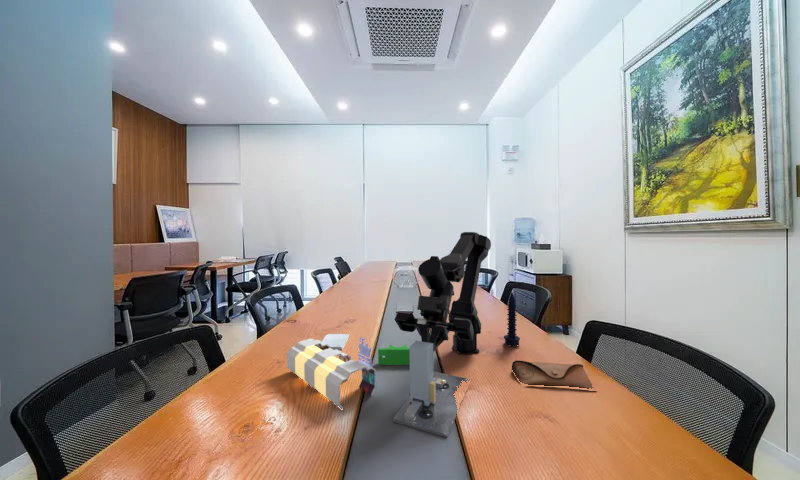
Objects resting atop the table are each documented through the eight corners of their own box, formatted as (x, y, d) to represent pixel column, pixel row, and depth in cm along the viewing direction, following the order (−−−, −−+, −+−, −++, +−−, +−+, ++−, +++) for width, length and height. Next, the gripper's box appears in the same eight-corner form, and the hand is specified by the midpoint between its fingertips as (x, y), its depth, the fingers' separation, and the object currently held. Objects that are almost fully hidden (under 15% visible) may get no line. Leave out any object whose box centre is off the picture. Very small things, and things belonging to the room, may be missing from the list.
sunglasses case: (519, 387, 71) (516, 357, 74) (513, 388, 77) (510, 361, 80) (600, 392, 68) (593, 361, 71) (587, 393, 74) (581, 364, 78)
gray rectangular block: (415, 392, 67) (415, 340, 67) (437, 397, 65) (437, 343, 65) (409, 401, 64) (408, 346, 63) (431, 407, 61) (431, 350, 61)
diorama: (376, 395, 68) (375, 339, 68) (338, 414, 61) (337, 352, 61) (321, 361, 86) (320, 317, 86) (287, 374, 79) (286, 325, 79)
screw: (516, 341, 100) (522, 347, 95) (501, 341, 100) (506, 347, 95) (516, 289, 100) (522, 292, 95) (501, 289, 100) (507, 292, 95)
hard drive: (342, 347, 94) (348, 333, 106) (316, 347, 94) (326, 333, 106) (342, 352, 94) (348, 338, 106) (316, 352, 94) (326, 338, 106)
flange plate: (429, 372, 78) (429, 365, 78) (471, 381, 74) (471, 374, 74) (393, 421, 58) (392, 412, 58) (446, 437, 54) (446, 427, 54)
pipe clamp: (417, 359, 87) (417, 344, 87) (417, 365, 83) (417, 349, 83) (379, 359, 87) (379, 344, 87) (378, 365, 83) (378, 349, 83)
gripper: (397, 279, 75) (376, 336, 65) (471, 284, 67) (460, 350, 57) (409, 303, 82) (392, 357, 72) (477, 310, 74) (468, 372, 64)
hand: (424, 359), depth 66 cm, fingers closed, pressing on gray rectangular block
